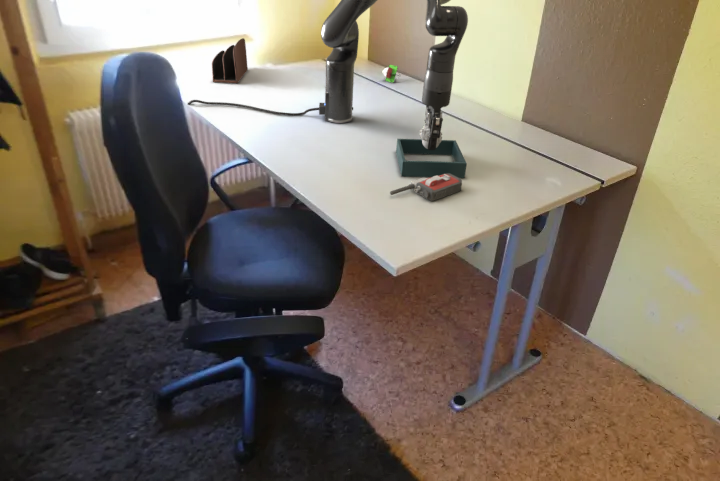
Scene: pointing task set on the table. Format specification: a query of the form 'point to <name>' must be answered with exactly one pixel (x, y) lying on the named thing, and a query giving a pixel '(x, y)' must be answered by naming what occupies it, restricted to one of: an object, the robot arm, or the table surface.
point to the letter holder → (230, 64)
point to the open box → (430, 167)
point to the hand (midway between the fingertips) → (429, 144)
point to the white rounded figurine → (425, 136)
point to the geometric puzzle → (390, 73)
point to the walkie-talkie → (434, 186)
